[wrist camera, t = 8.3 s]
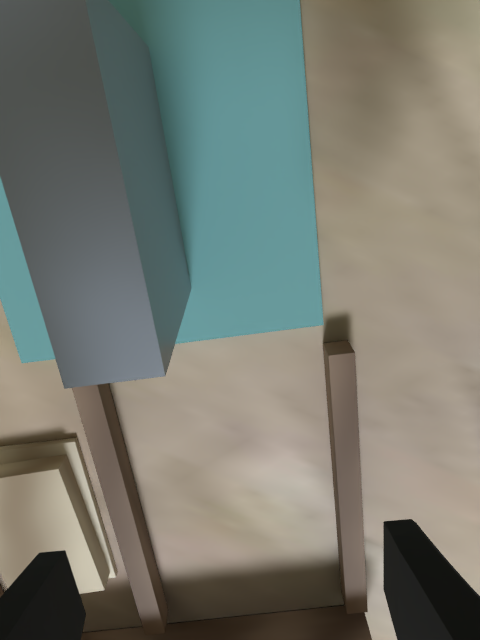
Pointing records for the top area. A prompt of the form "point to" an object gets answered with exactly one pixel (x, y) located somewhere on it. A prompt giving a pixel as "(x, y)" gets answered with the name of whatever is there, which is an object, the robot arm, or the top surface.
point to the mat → (218, 171)
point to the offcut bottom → (80, 472)
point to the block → (91, 188)
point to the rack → (132, 536)
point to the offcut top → (47, 521)
